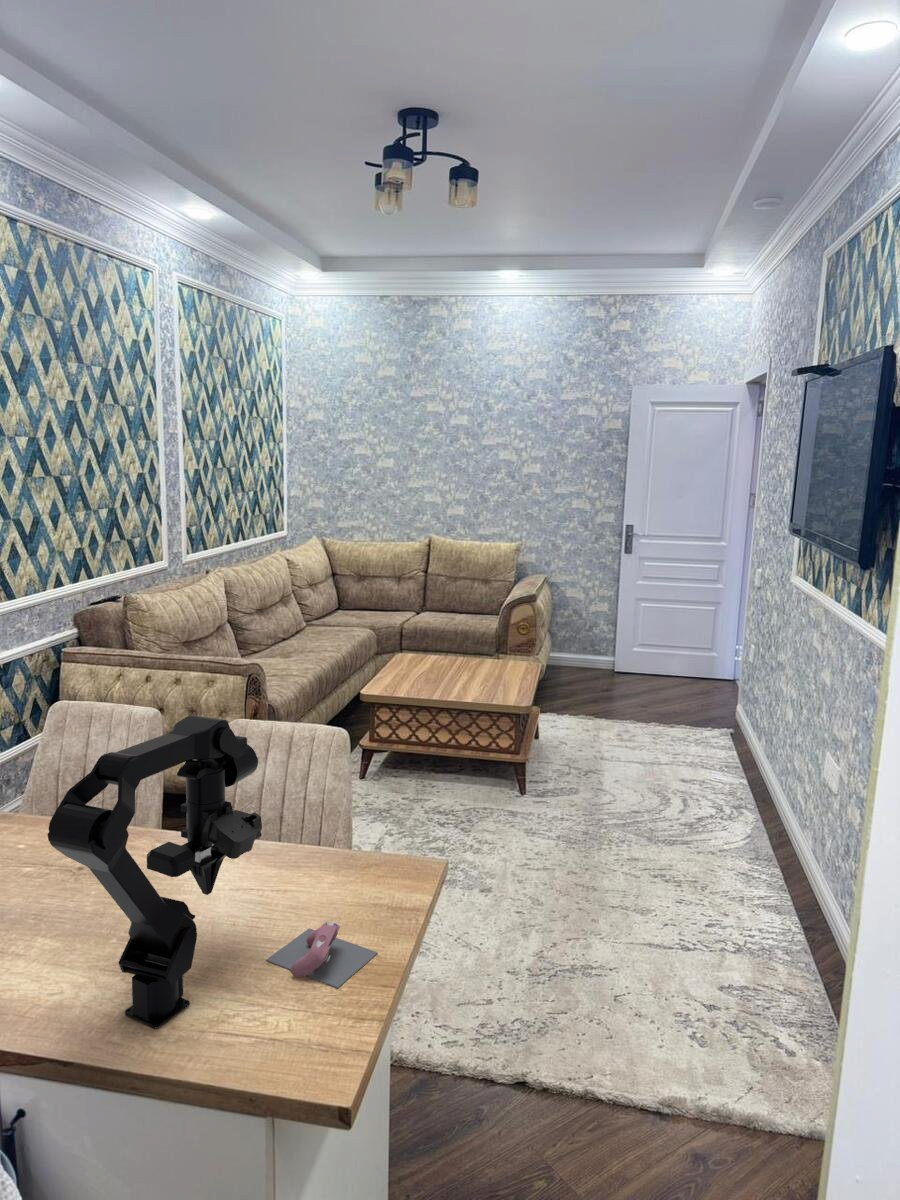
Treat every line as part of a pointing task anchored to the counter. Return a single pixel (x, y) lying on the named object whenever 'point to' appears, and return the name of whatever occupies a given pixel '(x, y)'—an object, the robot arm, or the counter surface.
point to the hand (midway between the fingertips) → (207, 893)
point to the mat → (336, 970)
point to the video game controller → (316, 949)
